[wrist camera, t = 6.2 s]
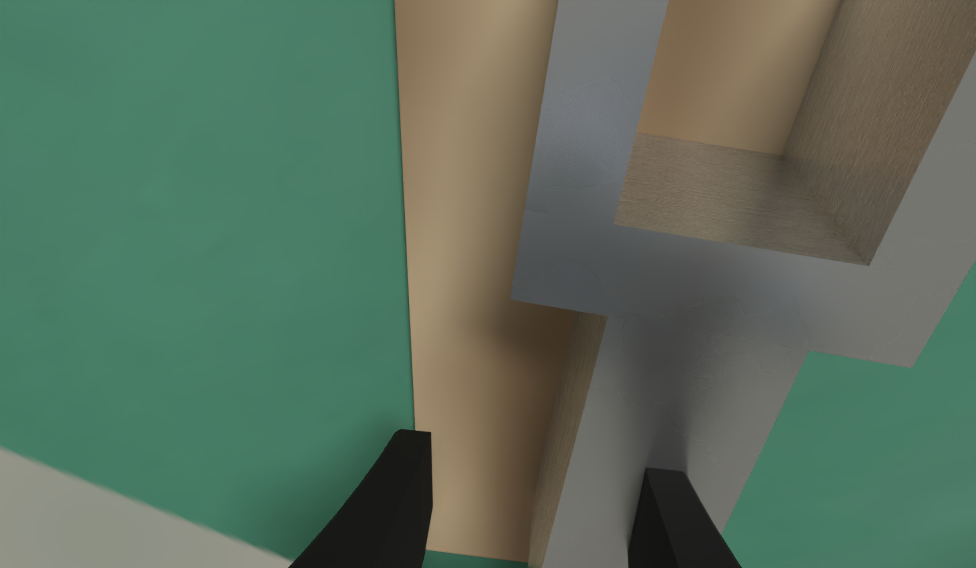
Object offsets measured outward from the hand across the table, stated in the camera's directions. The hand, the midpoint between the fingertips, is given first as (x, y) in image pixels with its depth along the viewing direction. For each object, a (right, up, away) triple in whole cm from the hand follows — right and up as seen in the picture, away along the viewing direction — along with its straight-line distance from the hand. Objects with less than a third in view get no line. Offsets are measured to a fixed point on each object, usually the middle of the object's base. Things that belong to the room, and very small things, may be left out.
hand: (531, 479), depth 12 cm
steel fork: (+3, +4, +2) cm, 5 cm away
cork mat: (+1, +3, +3) cm, 5 cm away
